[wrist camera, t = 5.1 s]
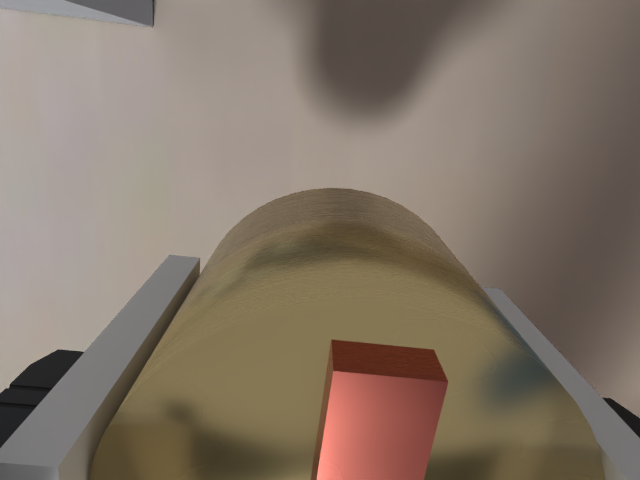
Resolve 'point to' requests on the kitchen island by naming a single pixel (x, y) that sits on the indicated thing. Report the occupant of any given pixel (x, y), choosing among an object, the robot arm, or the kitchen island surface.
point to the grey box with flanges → (90, 9)
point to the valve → (343, 363)
